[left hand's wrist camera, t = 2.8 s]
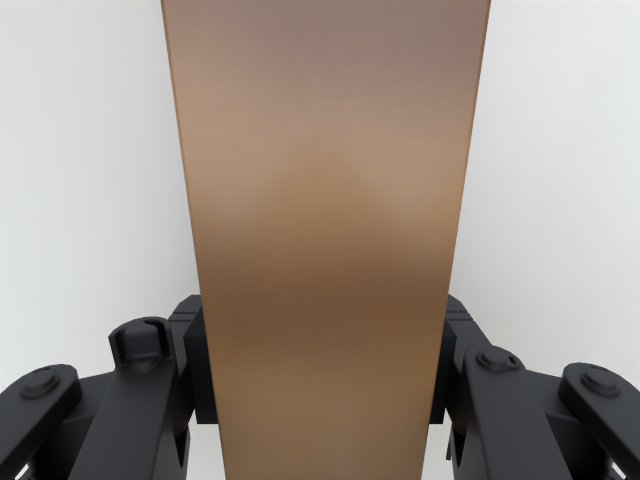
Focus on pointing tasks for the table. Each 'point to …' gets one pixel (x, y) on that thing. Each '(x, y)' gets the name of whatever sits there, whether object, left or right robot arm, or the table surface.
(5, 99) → the table surface
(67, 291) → the table surface
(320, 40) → the post
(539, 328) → the table surface
